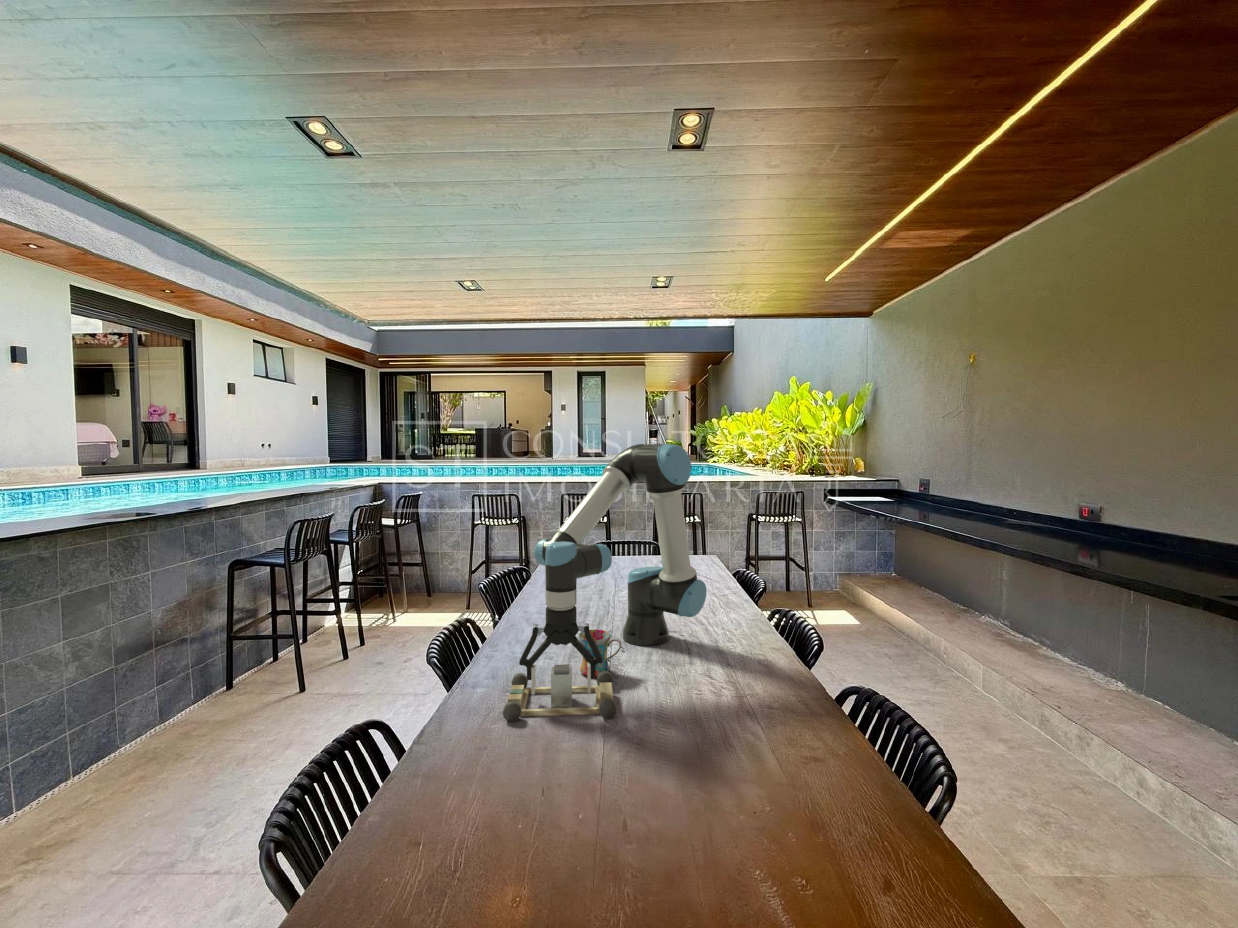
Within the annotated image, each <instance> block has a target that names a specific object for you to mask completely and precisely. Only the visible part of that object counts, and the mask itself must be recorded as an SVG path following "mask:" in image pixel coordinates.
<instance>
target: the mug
mask: <svg viewBox="0 0 1238 928" xmlns="http://www.w3.org/2000/svg"><path fill="white" fill-rule="evenodd" d="M589 630H590V634H591V636H592V637H593V639H594V641H595V643H596V645H597V647H598V649H599V651H600V653H601V655H602V659H603V662H602V663H598V664H596V666H595V677H597V676H598V674H599V673H600V672H602V671H608V672H609V673H610V671H611V668H610V666H609V665H610V664H609V663H611V660H610V659H612V658H614V657H615V656H616V655H617V654H618V653H619V652H620V650H621V649H622V648H621V646H622V642H621V640H619V639H616V638H613V639H612V633H611V632H609V631H608V630H605V629H589ZM578 633H579V634H578ZM578 633H577V638H578V640H579V641H580V642H581V644H582V645H583V646H584V647H585V648H586V649H587V650H588V652H589V653H590V654H591V655H592V656H593V657H594V658H595V655H594V653H593V651H592V649H591V647H590V645H589V643H588V642H587V640H586V637H585V635H583V634H582V633H581V632H578ZM613 642H618V643H619V647H618V649H617V650H616V651H615V653H613V654H611V655H610V656H608V648H609V647H610V645H611V644H612V643H613ZM587 663H588V661H587V660H586V659H585V658H584V657H583V656H582V660H581V664H580V667H579V672H580V673H581V674H583V675H584V676H587Z"/></svg>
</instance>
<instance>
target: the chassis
mask: <svg viewBox="0 0 1238 928" xmlns="http://www.w3.org/2000/svg"><path fill="white" fill-rule="evenodd" d="M596 677H597V678H596V681H597V682H596V683H597V685H591V693H595V706H591V707H590V706H589V707H587V706H585V707H558V708H551V707H550V708H526V707H527V704H528V699H529V695H530V694H531V695H532V690H531V687H528V683H529V680H527V674H525V673H521V672H517V673H516V674H514V676H513V677H512V680H511V688H510V691H509V695H508V698H507V702H506V703H505V705H504V708H503V711H502V717H503V718H504V720H505V721H507V722H510V723H515V722H516V721H518V719H520V717H542V716H543V717H544V716H574V715H575V716H576V715H577V716H578V715H600V717H602V718H603V719H605V720H606V719H607V720H608V719H612V718H614V717H615V715H616V713H617V705H616V702H615V700H614V694H613V683H614V682H613V675H612V674H611V672H610V671H609V672H608V671H602V672H600V673H599V674H598V676H596ZM573 693H574V694H575V693H588V685H580V686H579V685H576V686H575V685H572V694H573ZM536 694H537V695H538V694H551V686H536V690H535V695H536Z"/></svg>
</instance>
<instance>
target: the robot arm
mask: <svg viewBox="0 0 1238 928" xmlns="http://www.w3.org/2000/svg"><path fill="white" fill-rule="evenodd" d="M601 473H602V474H601V475H602V476H601V477H600V478H599V480H597V482H596V483H595V484H594V486H593V487H592V488H591V489H590V490H589V492H588V493H587V494H586V496H585V497H584V498H583V499H582V500H581V501H580V502H579V504H578V505H577V506H576V508H575V509H574V510H573V511H572V512H571V514H570V515H569V516H568V517H567V518H566V519H565V521H564V522H563V523H562V525H561V526H560V527H559V528H558V529H557V531H556V532H555V533H554V534H553V535H552V537H551V538H549V537H547V538H542V539H540V540H539V541H538V542H537V543H536V545H535V547H534V551H533V552H534V558H535V561H536V562H537V563H538V564H539V565H541V566H544V567H545V571H544V572H545V606H546V607H545V626H539V624H534V625H533V628H532V633H531V637H530V639H529V640H528V642H527V645H526V646H525V648H524V650H523V652H522V655H521V656H520V659H519V662H518V665H519V666H525V668H526V676H527V680H528V681H531V682H530V683H531V684H530V685H531V690H532V694H531V695H532V696H534V695H536V694H535V690H536V687H537V686H536V662H537V661H538V659H539V658H540V657H541V656H542V655H543V653H544V652H545V651H546V650H547V649H548V648H549V647H550V646H551V644H552V645H554V646H560V645H563V646H568V645H569V644H571V645H572V646H573V647H574V648H575V649H576V651H578V652H579V654H580V655H581V656H582V658H583V657H584V658H585V659H586V660H587V661H588V663H587V675H586V677H587V686H588V692H587V694H591V693H592V692H591V686H592V684H591V682H592V680H591V679H595V678H596V676H595V666H596V664H598V663H602V662H603V659H602V655H601V653H600V651H599V649H598V647H597V645H596V643H595V641H594V639H593V637H592V636H591V634H590V630H591V629H590V625H589V623H584V624H583V625H578V622H577V616H578V615H577V613H578V612H577V606H576V605H577V588H578V587H577V585H578V584H577V582H578V579H580V578H581V579H582V578H585V577H590V576H594V575H599V574H602V573H604V572H607V571H608V570H609V569H610V567H611V566H612V561H613V558H612V557H613V555H612V552H611V550H610V548H609V547H608V546H606V545H605V544H603V543H592V544H583V542H584V541H585V540H586V538H587V537H588V536H589V535H590V533H592V530H593V529H594V528H595V527H596V526H597V524H598V523H599V521H600V520H601V519H602V518H603V517H604V515H605V514H606V512H608V510H609V509H610V508H611V506H612V505H613V504H614V502H615V501H616V500H617V499H618V497H619V496H620V495H621V493H622V492H626V491H628V490H629V489H630V487H631V486H632V485H634V484H636V483H645V487H646V493H648V494H649V495H650V496H651V497H652V501H653V508H654V515H655V521H656V528H657V529H656V530H657V536H658V543H659V551H660V552H659V553H660V557H661V558H660V559H661V565H662V567H661V566H646V567H645V566H644V567H638V568H634V569H631V570H630V571H629V573H628V574H627V575H628V577H627V617H626V619H625V624H624V626H623V630H622V639H623V641H624V642H626V643H628V644H632V645H635V646H644V647H645V646H649V647H650V646H659V645H662V644H664V643H667V642H668V641H669V637H670V635H669V634H670V631H669V628H668V625H667V622H666V618H665V616H664V613H669V614H673V615H676V616H677V615H678V616H679V617H686V618H694V617H695V616H697V615H698V614H700V612H701V611H702V609H703V607H704V605H705V602H706V598H707V592H708V591H707V585H706V583H705V581H703V580H701V579H698V575H697V574H698V573H697V570H696V568H694V567H693V566H692V565H691V558H690V551H689V545H688V537H687V528H686V519H685V514H684V512H685V511H684V504H683V499H682V492H683V490H685V488H686V483H687V482H688V481H689V480H690V477H691V474H690V473H692V462H691V459H690V456H689V454H688V452H687V451H686V449H684V448H683V447H682V446H680V445H678V444H670V443H650V444H649V443H647V444H644V443H639V444H634V445H631V446H629V447H627V448H625V449H624V450H622V451H621V452H619V453H618V454H617V455H616V456H615V457H614V458H612V459H611V460H610V461H609V462H608V463H607V464H606V466H605V467H604V468H603V470H602V472H601ZM542 633H544V635H545V636H546V637H545V639H544V641H543V642H542V643H541V644H540V645H539V646H538V647H537V649H535V651H534V653H533V654H532V655H531V656H530V658H528V657H529V655H530V653H531V650H532V649H533V647H534V645H535V643H536V640H537V637H540V636H541V634H542ZM578 633H582V634H583V635H585V637H586V640H587V642H588V643H589V645H590V647H591V649H592V651H593V653H594V655H595V658H594V657H593V656H592V655H591V654H590V653H589V652H588V650H587V649H586V648H585V647H584V646H583V645H582V644H581V642H580V640H579V638H578V636H577V635H578Z"/></svg>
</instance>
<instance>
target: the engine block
mask: <svg viewBox="0 0 1238 928" xmlns="http://www.w3.org/2000/svg"><path fill="white" fill-rule="evenodd" d="M572 680H573V666H570V664H568V663H567V664H554V665H553V666H551V671H550V687H551V693H550V708H573V693H572V686H573V681H572Z"/></svg>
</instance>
